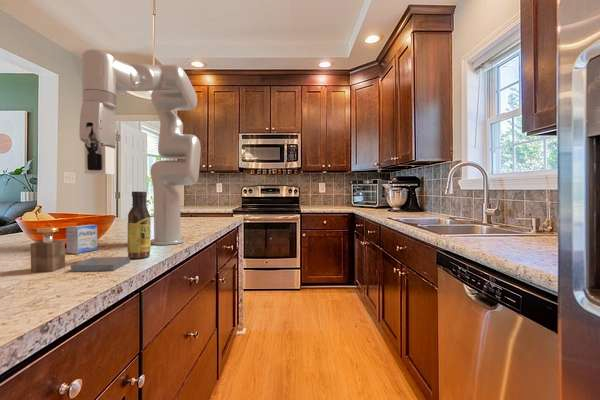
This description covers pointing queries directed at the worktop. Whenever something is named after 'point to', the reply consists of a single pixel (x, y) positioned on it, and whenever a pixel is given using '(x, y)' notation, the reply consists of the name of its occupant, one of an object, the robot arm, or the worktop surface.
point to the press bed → (100, 264)
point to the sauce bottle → (139, 227)
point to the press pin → (47, 233)
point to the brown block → (47, 256)
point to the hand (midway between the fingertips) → (100, 170)
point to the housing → (103, 161)
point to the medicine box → (81, 239)
